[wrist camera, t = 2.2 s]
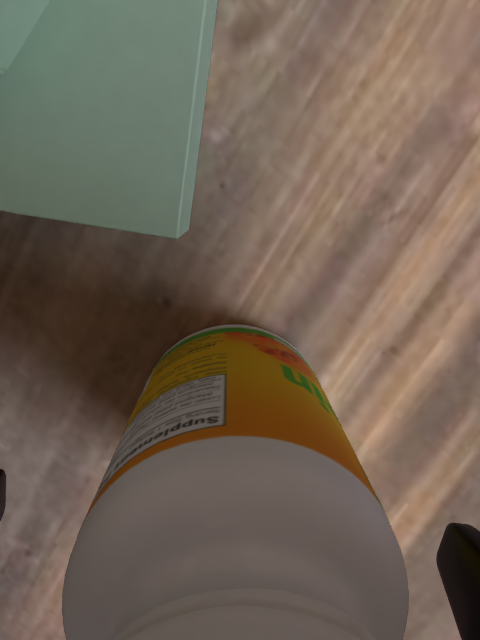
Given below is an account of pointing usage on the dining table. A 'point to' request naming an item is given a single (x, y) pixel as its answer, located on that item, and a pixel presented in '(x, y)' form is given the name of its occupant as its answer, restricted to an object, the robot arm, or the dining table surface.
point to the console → (103, 110)
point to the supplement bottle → (235, 510)
